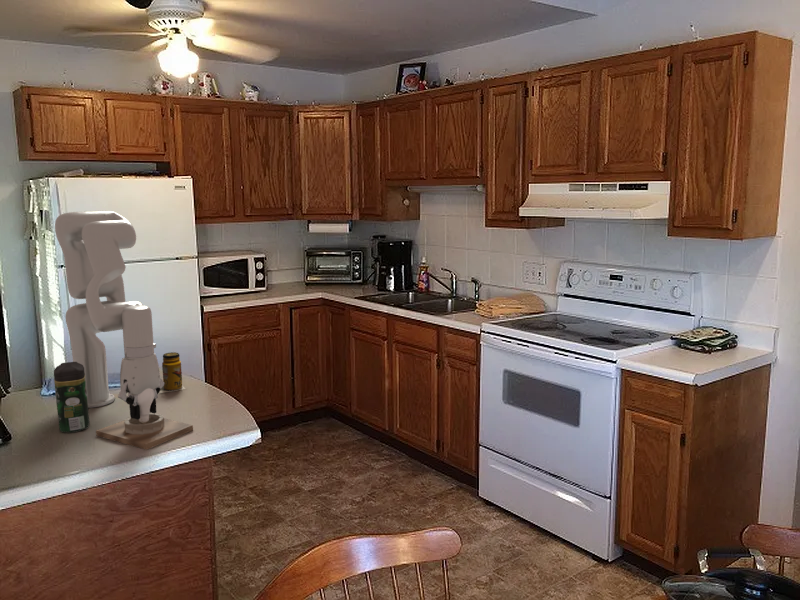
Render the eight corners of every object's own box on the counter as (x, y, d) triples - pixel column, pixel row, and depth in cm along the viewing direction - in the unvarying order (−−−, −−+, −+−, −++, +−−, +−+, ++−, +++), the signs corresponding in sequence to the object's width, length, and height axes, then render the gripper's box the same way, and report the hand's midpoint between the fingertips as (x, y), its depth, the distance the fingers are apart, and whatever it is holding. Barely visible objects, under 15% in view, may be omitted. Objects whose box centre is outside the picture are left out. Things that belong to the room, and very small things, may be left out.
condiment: (186, 389, 226) (184, 354, 224) (160, 393, 221) (157, 358, 219) (180, 384, 232) (178, 350, 229) (154, 388, 227) (152, 353, 225)
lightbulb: (127, 426, 183) (125, 387, 181) (140, 418, 189) (137, 380, 187) (148, 427, 182) (146, 388, 180) (160, 420, 188) (158, 382, 186)
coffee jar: (59, 424, 193) (53, 361, 190) (89, 420, 196) (84, 358, 193) (58, 435, 184) (52, 370, 181) (89, 430, 188) (84, 366, 185)
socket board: (96, 435, 184) (95, 421, 184) (144, 418, 198) (143, 405, 197) (146, 449, 174) (145, 435, 174) (193, 430, 188) (192, 416, 187)
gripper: (155, 343, 191) (158, 404, 195) (102, 356, 177) (108, 422, 180) (173, 346, 188) (177, 408, 191) (121, 360, 173) (126, 427, 176)
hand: (143, 414), depth 185 cm, fingers closed on lightbulb, 4 cm apart
